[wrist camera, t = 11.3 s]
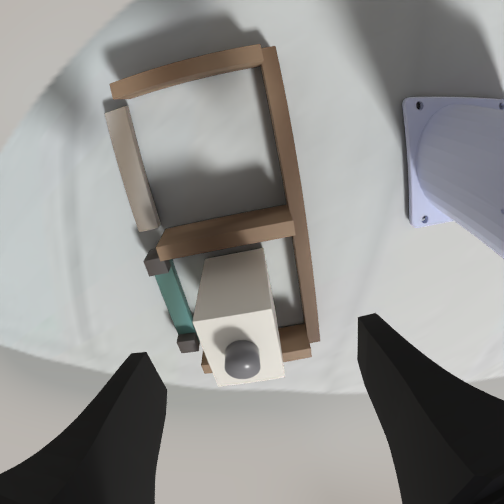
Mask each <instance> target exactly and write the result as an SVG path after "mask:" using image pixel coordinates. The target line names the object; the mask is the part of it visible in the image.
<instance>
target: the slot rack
mask: <svg viewBox="0 0 504 504" xmlns="http://www.w3.org/2000/svg"><path fill="white" fill-rule="evenodd" d="M260 66H261V71H262V75H263V80H264V85H265V90H266V95H267V100H268V105H269V110H270V115H271V120H272V125H273V130H274V136H275V141H276V146H277V152H278V157H279V163H280V168H281V174H282V180H283V185H284V191H285V197H286V203H287V205H281V206H276V207H270V208H265V209H260V210H255V211H250V212H245V213H239V214H234V215H229V216H225V217H220V218H215V219H210V220H205V221H200V222H196V223H191V224H186V225H181V226H177V227H172V228H168V229H165V231H164V233H163V235H162V237H161V239H160V240H159V242H158V244H157V246H156V249H154V250H150V251H149V252H148V254H147V256H146V258H145V260H144V264H145V266H146V269H147V271H148V274H149V276H154V275H155V277H156V280H157V283H158V285H159V288H160V290H161V293H162V296H163V298H164V301H165V303H166V306H167V308H168V311H169V313H170V316H171V318H172V320H173V323H174V325H175V328H176V330H177V332H178V339H177V344H178V346H179V349H180V351H181V353H187V352H196V351H199V344H200V340H199V337H198V335H197V332H196V330H195V327H194V324H193V317H192V314H191V311H190V308H189V306H188V303H187V300H186V297H185V295H184V292H183V289H182V286H181V283H180V280H179V278H178V275H177V272H176V269H175V266H174V263H173V260H172V259H175V258H180V257H185V256H190V255H195V254H200V253H206V252H211V251H216V250H221V249H226V248H232V247H237V246H242V245H247V244H252V243H258V242H263V241H268V240H274V239H279V238H284V237H289V236H292V240H293V247H294V253H295V260H296V266H297V273H298V280H299V287H300V294H301V301H302V309H303V316H304V324H299V325H294V326H289V327H283V328H278V331H279V337H280V344H281V351H282V358H283V362H287V361H293V360H298V359H303V358H309V357H312V355H311V347H310V343H313V342H318V341H320V334H319V323H318V313H317V304H316V294H315V285H314V277H313V268H312V260H311V252H310V244H309V236H308V229H307V222H306V215H305V208H304V201H303V194H302V187H301V181H300V175H299V168H298V162H297V156H296V150H295V144H294V139H293V133H292V127H291V122H290V116H289V111H288V106H287V100H286V95H285V90H284V85H283V80H282V75H281V70H280V65H279V61H278V56H277V51H276V47H275V46H272V47H265V48H261V45H260V44H256V45H251V46H245V47H239V48H234V49H229V50H224V51H219V52H215V53H210V54H206V55H202V56H198V57H194V58H190V59H186V60H182V61H178V62H175V63H171V64H168V65H164V66H161V67H158V68H154V69H151V70H148V71H145V72H142V73H139V74H136V75H133V76H130V77H127V78H124V79H122V80H119V81H116V82H113V83H111V84H110V88H111V92H112V97H113V99H132V98H135V97H138V96H141V95H144V94H147V93H150V92H153V91H157V90H160V89H163V88H167V87H170V86H174V85H178V84H181V83H185V82H189V81H193V80H197V79H201V78H205V77H209V76H214V75H218V74H223V73H228V72H232V71H238V70H243V69H248V68H254V67H260ZM105 117H106V121H107V125H108V129H109V133H110V137H111V141H112V145H113V148H114V152H115V155H116V159H117V163H118V166H119V170H120V173H121V176H122V180H123V183H124V186H125V190H126V193H127V196H128V199H129V203H130V206H131V209H132V212H133V215H134V218H135V221H136V224H137V227H138V230H139V232H143V231H148V230H152V229H156V228H159V226H160V225H161V223H160V220H159V217H158V213H157V210H156V207H155V203H154V200H153V197H152V193H151V190H150V186H149V183H148V180H147V176H146V172H145V169H144V165H143V162H142V158H141V154H140V151H139V147H138V143H137V139H136V135H135V131H134V127H133V123H132V119H131V115H130V111H129V107H128V106H124V107H121V108H118V109H116V110H113V111H110V112H107V113H105ZM201 366H202V368H203V371H204V373H205V374H206V373H213V372H212V370H211V368H210V365H209V363H208V360H207V358H206V355H205V353H204V350H203V355H202V363H201Z"/></svg>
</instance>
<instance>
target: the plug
mask: <svg viewBox="0 0 504 504" xmlns="http://www.w3.org/2000/svg"><path fill="white" fill-rule="evenodd" d="M193 324H194V327H195V330H196V332H197V335H198V337H199V340H200V343H201V345H202V348H203V350H204V353H205V355H206V358H207V360H208V363H209V365H210V368H211V370H212V372H213V375H214V377H215V380H216V382H217V384H218V387H221V386H229V385H237V384H245V383H252V382H258V381H265V380H271V379H277V378H283V377H285V371H284V365H283V358H282V351H281V344H280V337H279V331H278V324H277V317H276V311H275V305H274V300H273V295H272V290H271V285H270V280H269V275H268V270H267V264H266V259H265V254H264V249H263V248H260V249H255V250H250V251H244V252H239V253H234V254H229V255H223V256H218V257H213V258H207V259H205V262H204V267H203V271H202V276H201V281H200V286H199V291H198V296H197V301H196V306H195V312H194V317H193Z"/></svg>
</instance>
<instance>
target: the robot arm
mask: <svg viewBox="0 0 504 504" xmlns="http://www.w3.org/2000/svg"><path fill="white" fill-rule="evenodd" d="M417 102H419V103H420V108H419V109H417V107H416V103H417ZM499 104H500V108H499ZM402 107H403V116H404V125H405V135H406V147H407V161H408V181H409V221H410V224H411V225H412V226H413V227H415V228H420V227H425V226H430V225H435V224H440V223H445V222H450V221H455V222H456V223H458V224H459V225H460V226H462V227H463V228H465V229H466V230H467V231H469V232H470V233H471V234H473V235H474V236H475V237H477V238H478V239H479V240H481V241H482V242H483V243H484V244H486V245H487V246H488V247H490V248H491V249H492V250H493V251H495V252H496V253H497V254H498V255H500V256H501V257H502V258H503V259H504V99H493V98H475V97H408V98H405V99H404V101H403V103H402ZM423 216H426V217H425V220H424V221H422V218H423ZM357 360H358V364H359V367H360V371H361V374H362V378H363V381H364V384H365V387H366V389H367V392H368V394H369V397H370V399H371V401H372V404H373V406H374V408H375V411H376V413H377V416H378V418H379V420H380V423H381V425H382V428H383V430H384V433H385V435H386V438H387V441H388V444H389V447H390V450H391V454H392V458H393V462H394V465H395V470H396V474H397V479H398V483H399V488H400V493H401V498H402V504H504V400H501V399H499V398H497V397H494V396H492V395H490V394H488V393H485V392H484V391H481V390H479V389H477V388H475V387H473V386H471V385H469V384H468V383H466V382H464V381H462V380H461V379H459V378H457V377H456V376H454V375H452V374H451V373H449V372H448V371H446V370H445V369H443V368H442V367H440V366H439V365H437V364H436V363H435V362H433V361H432V360H431V359H429V358H428V357H427V356H425V355H424V354H423V353H421V352H420V351H419V350H418V349H416V348H415V347H414V346H413V345H412V344H410V343H409V342H408V341H407V340H406V339H404V338H403V337H402V336H401V335H400V334H399V333H397V332H396V331H395V330H394V329H393V328H392V327H391V326H390V325H388V324H387V323H386V322H385V321H384V320H383V319H382V318H381V317H380V316H379V315H377V314H376V313H374V314H370V315H365V316H361V317H358V358H357ZM166 404H167V389H166V387H165V385H164V383H163V382H162V380H161V378H160V376H159V374H158V373H157V371H156V369H155V367H154V365H153V363H152V362H151V360H150V358H149V356H148V354H147V352H142V353H131V354H130V356H129V357H128V358H127V359H126V360H125V361H124V363H123V364H122V365H121V366H120V367H119V369H118V370H117V371H116V372H115V374H114V375H113V376H112V377H111V379H110V380H109V381H108V382H107V384H106V385H105V386H104V387H103V389H102V390H101V391H100V392H99V393H98V395H97V396H96V397H95V398H94V399H93V400H92V401H91V403H90V404H89V405H88V406H87V407H86V408H85V409H84V411H83V412H82V413H81V414H80V415H79V416H78V417H77V418H76V419H75V420H74V421H73V422H72V423H71V424H70V425H69V426H68V427H67V428H66V429H65V430H64V431H63V432H62V433H61V434H60V435H58V436H57V437H56V438H55V439H54V440H52V441H51V442H50V443H49V444H47V445H46V446H45V447H44V448H42V449H41V450H40V451H39V452H37V453H36V454H34V455H33V456H31V457H30V458H28V459H27V460H25V461H23V462H22V463H20V464H18V465H17V466H15V467H13V468H11V469H9V470H7V471H5V472H3V473H1V474H0V504H155V501H154V500H155V499H154V498H155V474H156V466H157V460H158V454H159V449H160V444H161V438H162V433H163V428H164V422H165V416H166Z"/></svg>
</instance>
